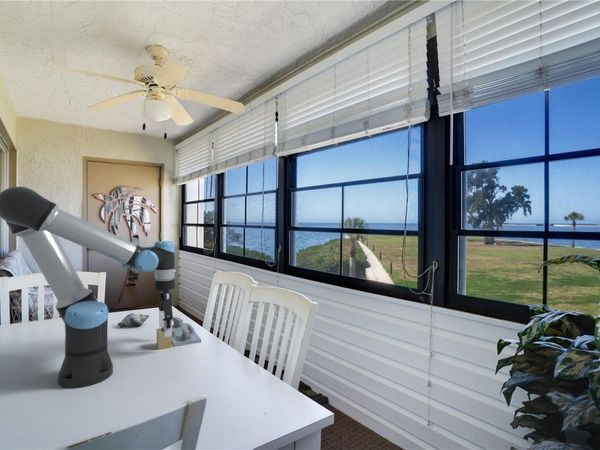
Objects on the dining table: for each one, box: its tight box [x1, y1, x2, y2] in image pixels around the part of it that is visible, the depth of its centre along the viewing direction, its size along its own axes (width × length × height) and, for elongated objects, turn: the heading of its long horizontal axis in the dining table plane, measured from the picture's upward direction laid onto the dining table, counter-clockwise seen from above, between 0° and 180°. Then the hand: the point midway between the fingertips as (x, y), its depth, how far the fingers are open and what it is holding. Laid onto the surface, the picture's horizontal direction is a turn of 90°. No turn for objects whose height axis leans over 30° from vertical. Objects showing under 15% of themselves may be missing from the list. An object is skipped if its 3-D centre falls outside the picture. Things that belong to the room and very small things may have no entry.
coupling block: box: [156, 327, 173, 351], centre depth 136 cm, size 5×5×8 cm
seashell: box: [117, 312, 150, 328], centre depth 161 cm, size 6×8×12 cm
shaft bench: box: [172, 316, 202, 348], centre depth 150 cm, size 26×11×5 cm, turn 30°
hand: (165, 331), depth 136 cm, fingers open, 13 cm apart
